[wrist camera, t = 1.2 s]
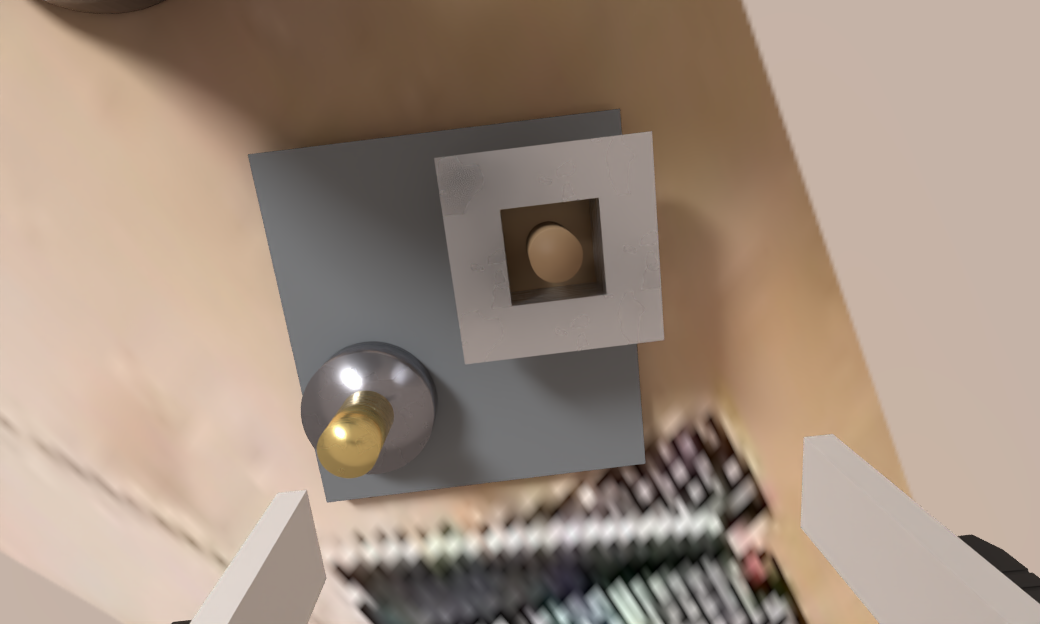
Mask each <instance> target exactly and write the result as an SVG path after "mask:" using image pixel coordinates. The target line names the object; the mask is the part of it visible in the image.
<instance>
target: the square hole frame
mask: <svg viewBox="0 0 1040 624" xmlns="http://www.w3.org/2000/svg"><path fill="white" fill-rule="evenodd" d="M434 161H435V168H436V174H437V181H438V188H439V194H440V201H441V208H442V214H443V221H444V228H445V234H446V241H447V248H448V254H449V261H450V267H451V274H452V281H453V287H454V294H455V301H456V307H457V314H458V321H459V327H460V334H461V341H462V347H463V354H464V360H465V364H473V363H481V362H489V361H498V360H506V359H514V358H522V357H530V356H538V355H547V354H555V353H563V352H571V351H579V350H588V349H596V348H604V347H612V346H620V345H628V344H637V343H645V342H653V341H661V340H664V326H663V309H662V292H661V275H660V258H659V241H658V225H657V208H656V191H655V174H654V157H653V140H652V131H650V132H642V133H633V134H625V135H617V136H609V137H601V138H593V139H585V140H576V141H568V142H560V143H552V144H544V145H536V146H527V147H519V148H511V149H503V150H495V151H487V152H479V153H470V154H462V155H454V156H446V157H438V158H434ZM583 199H589V208H590V219H591V230H592V242H593V253H594V265H595V276H596V282H590V283H582V284H574V285H566V286H557V287H549V288H541V289H533V290H525V291H517V292H511V289H510V281H509V273H508V265H507V257H506V250H505V242H504V234H503V226H502V218H501V210H502V209H510V208H518V207H526V206H534V205H543V204H551V203H559V202H567V201H575V200H583Z"/></svg>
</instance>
